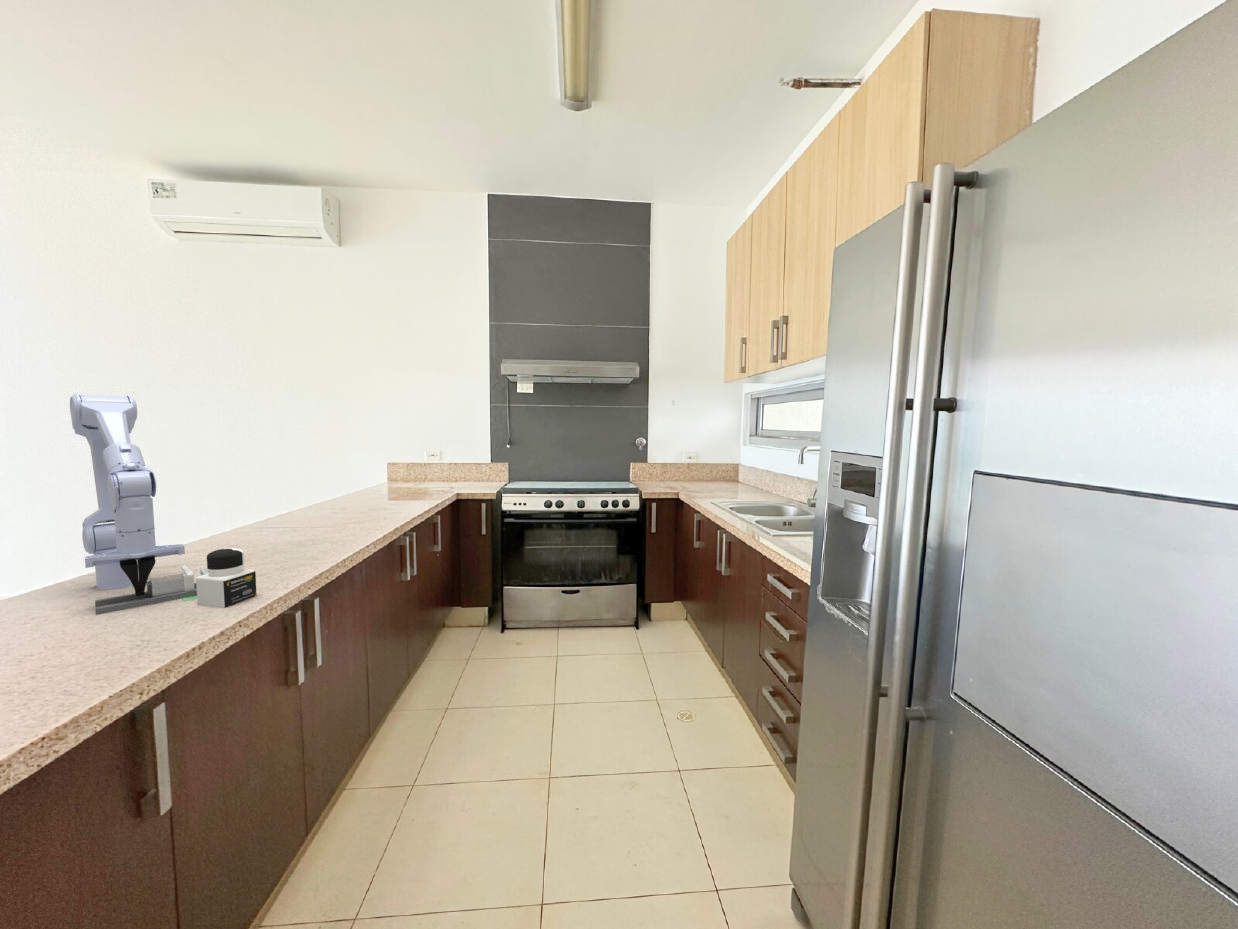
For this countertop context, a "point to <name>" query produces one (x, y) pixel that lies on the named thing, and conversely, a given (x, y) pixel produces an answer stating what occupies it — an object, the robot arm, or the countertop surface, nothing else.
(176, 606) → the countertop surface
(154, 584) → the grey rail carriage
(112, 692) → the countertop surface
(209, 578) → the medicine bottle
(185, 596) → the gauge board
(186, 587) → the off-white rectangular block
